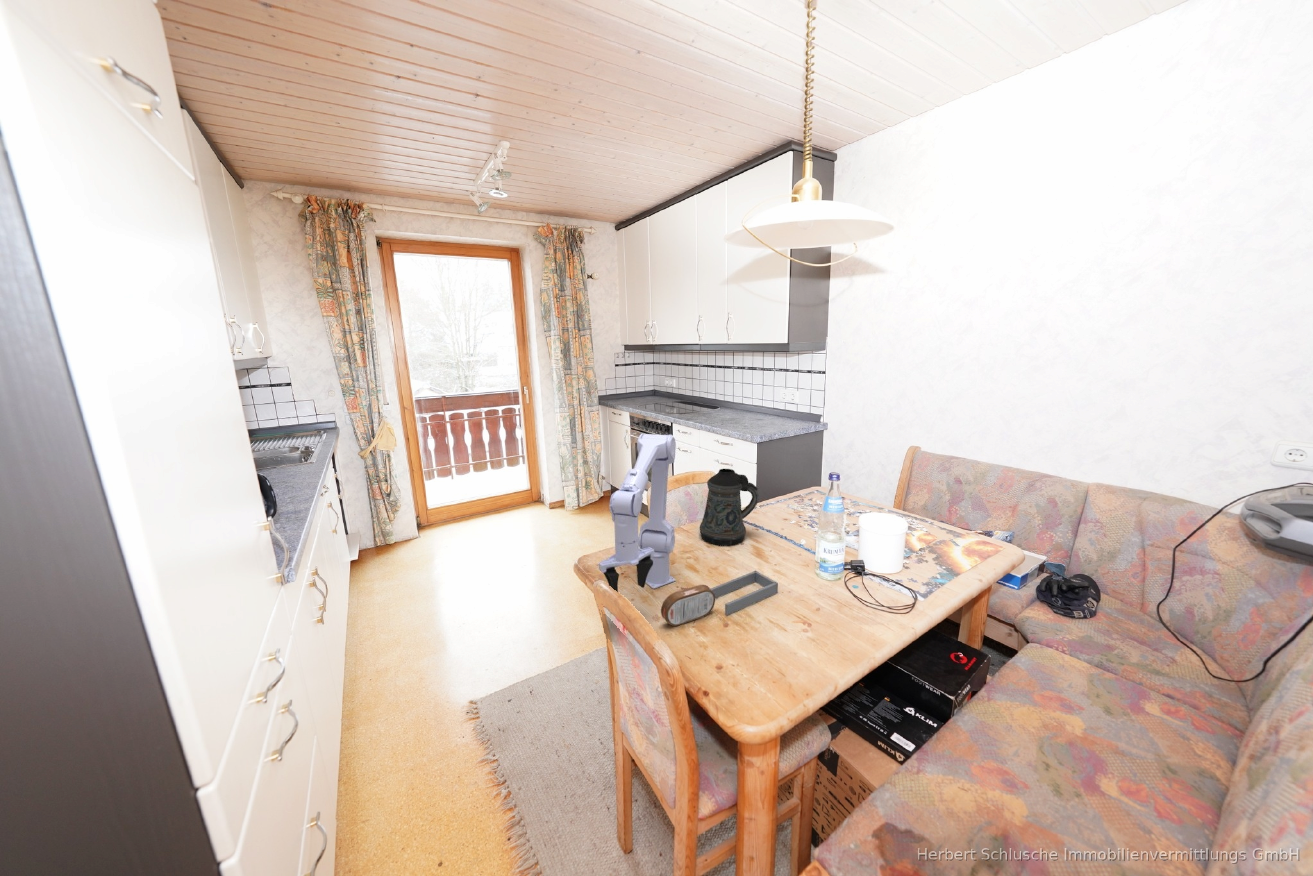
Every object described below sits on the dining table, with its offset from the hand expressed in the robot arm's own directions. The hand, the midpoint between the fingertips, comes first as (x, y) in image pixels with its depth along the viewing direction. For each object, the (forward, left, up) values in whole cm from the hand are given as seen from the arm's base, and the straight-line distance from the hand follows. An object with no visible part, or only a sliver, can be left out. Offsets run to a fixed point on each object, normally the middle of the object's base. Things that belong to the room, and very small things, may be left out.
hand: (628, 590), depth 113 cm
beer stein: (-25, +55, -10) cm, 61 cm away
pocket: (+7, +32, -10) cm, 34 cm away
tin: (+7, +14, -10) cm, 18 cm away
